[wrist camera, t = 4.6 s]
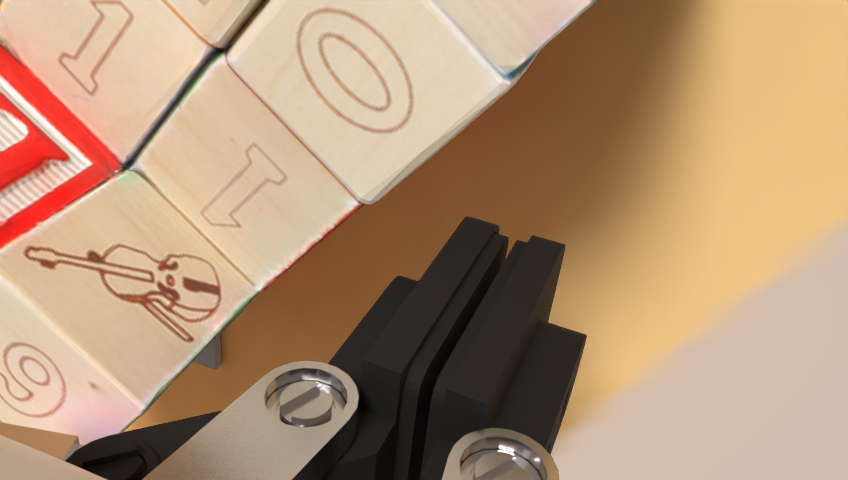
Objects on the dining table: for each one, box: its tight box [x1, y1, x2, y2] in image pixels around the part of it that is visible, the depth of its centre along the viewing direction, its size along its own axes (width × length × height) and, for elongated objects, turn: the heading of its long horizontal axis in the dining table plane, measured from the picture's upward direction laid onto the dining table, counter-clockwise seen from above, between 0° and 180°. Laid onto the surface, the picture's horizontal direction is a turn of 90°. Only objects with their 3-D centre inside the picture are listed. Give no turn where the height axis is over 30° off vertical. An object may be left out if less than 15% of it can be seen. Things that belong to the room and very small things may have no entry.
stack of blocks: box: [0, 0, 598, 445], centre depth 16 cm, size 21×6×12 cm, turn 136°
